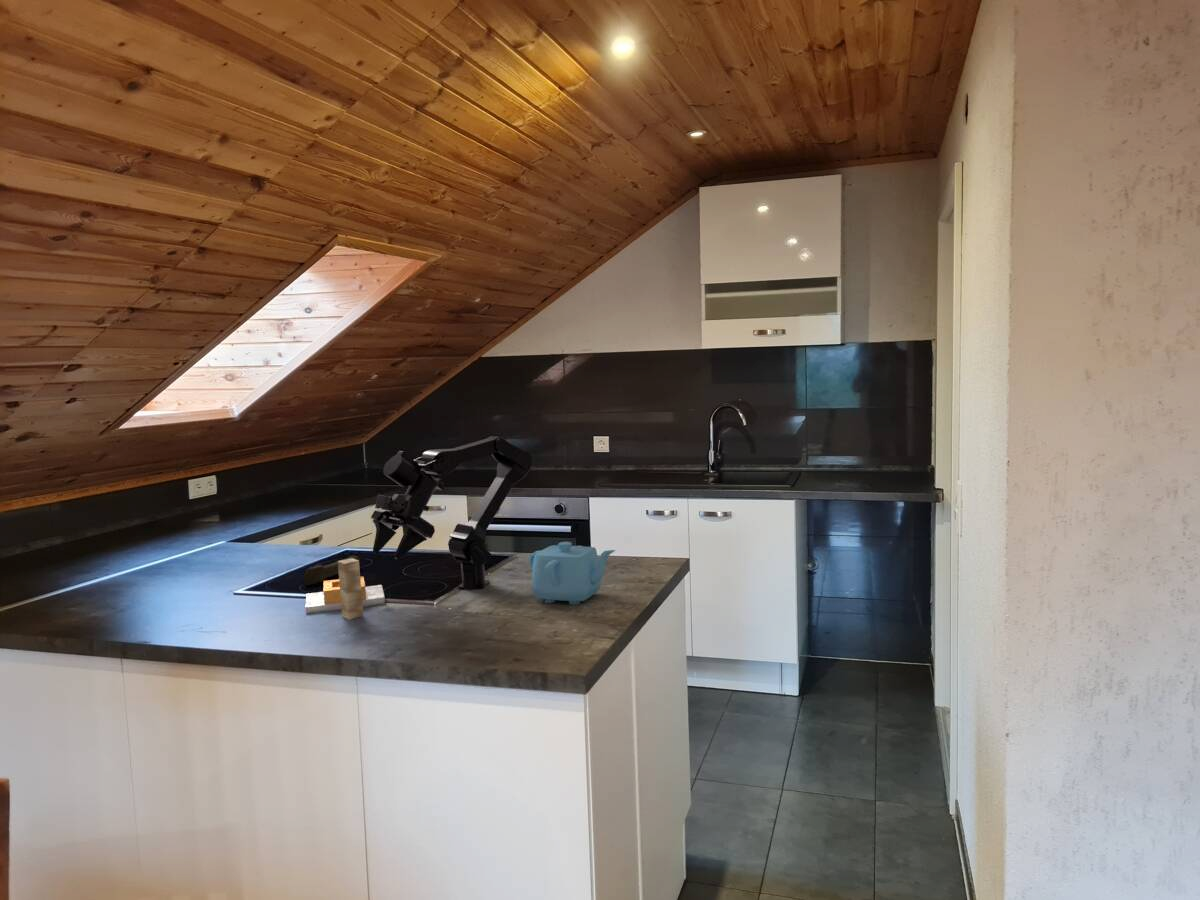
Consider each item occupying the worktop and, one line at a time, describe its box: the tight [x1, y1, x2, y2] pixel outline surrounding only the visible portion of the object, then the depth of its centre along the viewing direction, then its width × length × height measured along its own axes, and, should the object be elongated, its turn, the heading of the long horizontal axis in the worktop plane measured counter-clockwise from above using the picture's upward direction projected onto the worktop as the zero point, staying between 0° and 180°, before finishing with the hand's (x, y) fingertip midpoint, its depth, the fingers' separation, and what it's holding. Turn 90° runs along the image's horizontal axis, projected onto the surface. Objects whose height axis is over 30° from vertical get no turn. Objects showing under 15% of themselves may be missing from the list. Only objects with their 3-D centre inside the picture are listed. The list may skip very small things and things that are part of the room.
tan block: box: [337, 558, 364, 620], centre depth 199 cm, size 4×4×13 cm
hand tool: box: [304, 555, 361, 586], centre depth 236 cm, size 19×4×5 cm, turn 151°
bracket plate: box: [305, 576, 386, 614], centre depth 211 cm, size 18×12×4 cm, turn 107°
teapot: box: [528, 541, 616, 606], centre depth 206 cm, size 18×16×14 cm
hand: (385, 555), depth 202 cm, fingers open, 9 cm apart
